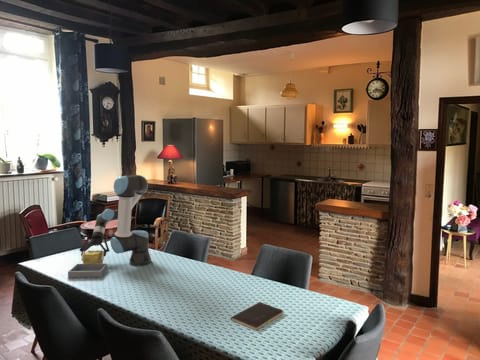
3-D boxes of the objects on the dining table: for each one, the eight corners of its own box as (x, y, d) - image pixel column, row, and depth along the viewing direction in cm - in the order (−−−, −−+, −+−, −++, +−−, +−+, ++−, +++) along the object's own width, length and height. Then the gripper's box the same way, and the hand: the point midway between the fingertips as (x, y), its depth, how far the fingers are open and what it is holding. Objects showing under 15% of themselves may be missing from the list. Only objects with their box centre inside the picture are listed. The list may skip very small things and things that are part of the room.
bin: (107, 270, 253) (107, 263, 252) (100, 278, 238) (100, 271, 237) (77, 270, 252) (76, 263, 251) (68, 278, 237) (67, 271, 236)
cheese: (97, 268, 255) (97, 254, 254) (82, 268, 255) (81, 254, 254) (103, 263, 265) (103, 250, 264) (88, 263, 266) (88, 250, 265)
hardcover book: (283, 314, 192) (283, 310, 192) (256, 331, 175) (256, 327, 174) (258, 305, 202) (258, 301, 202) (230, 321, 185) (230, 316, 185)
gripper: (117, 236, 275) (111, 262, 262) (82, 236, 273) (75, 262, 260) (114, 231, 269) (109, 257, 256) (79, 231, 268) (72, 257, 254)
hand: (92, 260), depth 258 cm, fingers open, 13 cm apart
